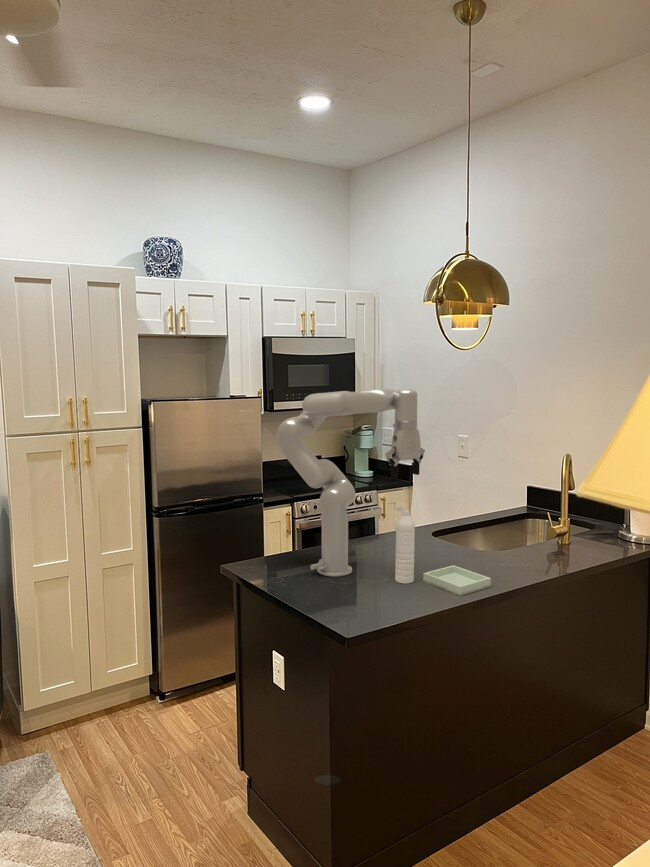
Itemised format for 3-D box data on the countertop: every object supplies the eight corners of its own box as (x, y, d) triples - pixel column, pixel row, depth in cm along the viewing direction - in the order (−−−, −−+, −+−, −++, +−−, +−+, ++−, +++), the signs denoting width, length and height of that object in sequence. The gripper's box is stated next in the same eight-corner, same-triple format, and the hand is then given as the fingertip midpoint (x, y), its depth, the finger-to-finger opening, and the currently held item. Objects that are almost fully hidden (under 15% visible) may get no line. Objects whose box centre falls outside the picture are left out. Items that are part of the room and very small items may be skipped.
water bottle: (417, 582, 224) (418, 511, 221) (401, 585, 222) (402, 513, 219) (404, 574, 232) (405, 506, 229) (388, 577, 229) (389, 507, 227)
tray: (460, 596, 211) (460, 587, 211) (423, 581, 225) (423, 573, 225) (490, 586, 220) (490, 578, 220) (453, 573, 234) (453, 565, 234)
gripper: (394, 428, 213) (393, 480, 215) (431, 425, 223) (431, 474, 225) (379, 426, 219) (378, 476, 221) (416, 423, 229) (415, 471, 231)
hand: (405, 475), depth 223 cm, fingers open, 9 cm apart
